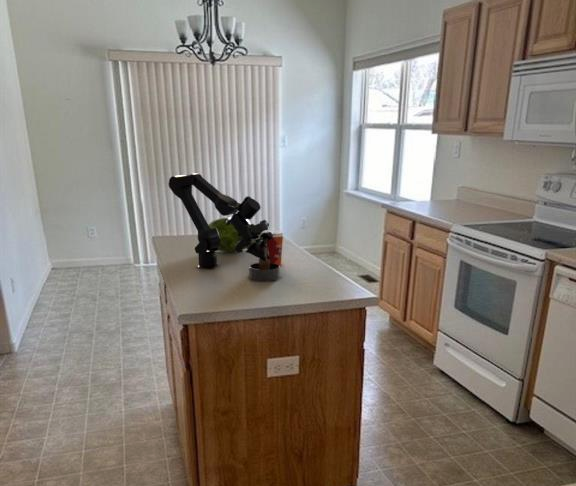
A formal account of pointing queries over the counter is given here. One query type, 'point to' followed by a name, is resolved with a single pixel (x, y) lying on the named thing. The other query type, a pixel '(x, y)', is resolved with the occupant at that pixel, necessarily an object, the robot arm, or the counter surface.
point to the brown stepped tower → (265, 264)
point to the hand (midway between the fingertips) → (267, 259)
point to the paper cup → (275, 247)
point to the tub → (264, 273)
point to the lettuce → (227, 234)
